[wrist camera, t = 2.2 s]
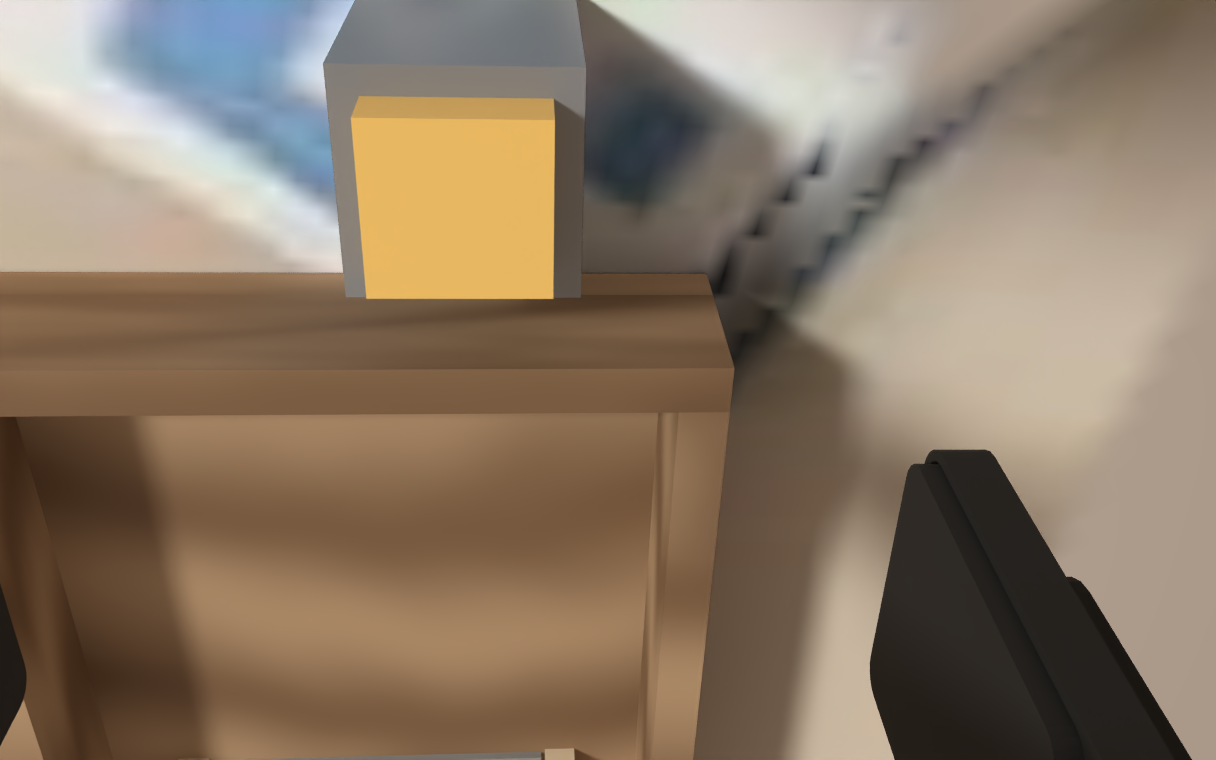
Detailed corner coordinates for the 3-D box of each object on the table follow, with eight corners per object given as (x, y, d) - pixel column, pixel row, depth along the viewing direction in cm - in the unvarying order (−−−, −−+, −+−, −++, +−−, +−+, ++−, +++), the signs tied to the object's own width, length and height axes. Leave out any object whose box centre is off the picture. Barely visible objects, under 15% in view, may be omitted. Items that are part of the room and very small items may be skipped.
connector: (362, -15, 22) (313, 83, 17) (574, -11, 22) (588, 87, 17) (377, 184, 24) (338, 325, 19) (571, 186, 24) (583, 325, 19)
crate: (-50, 272, 24) (-143, 371, 21) (706, 273, 25) (734, 368, 22) (151, 947, 37) (113, 1078, 34) (649, 929, 38) (662, 1053, 35)
